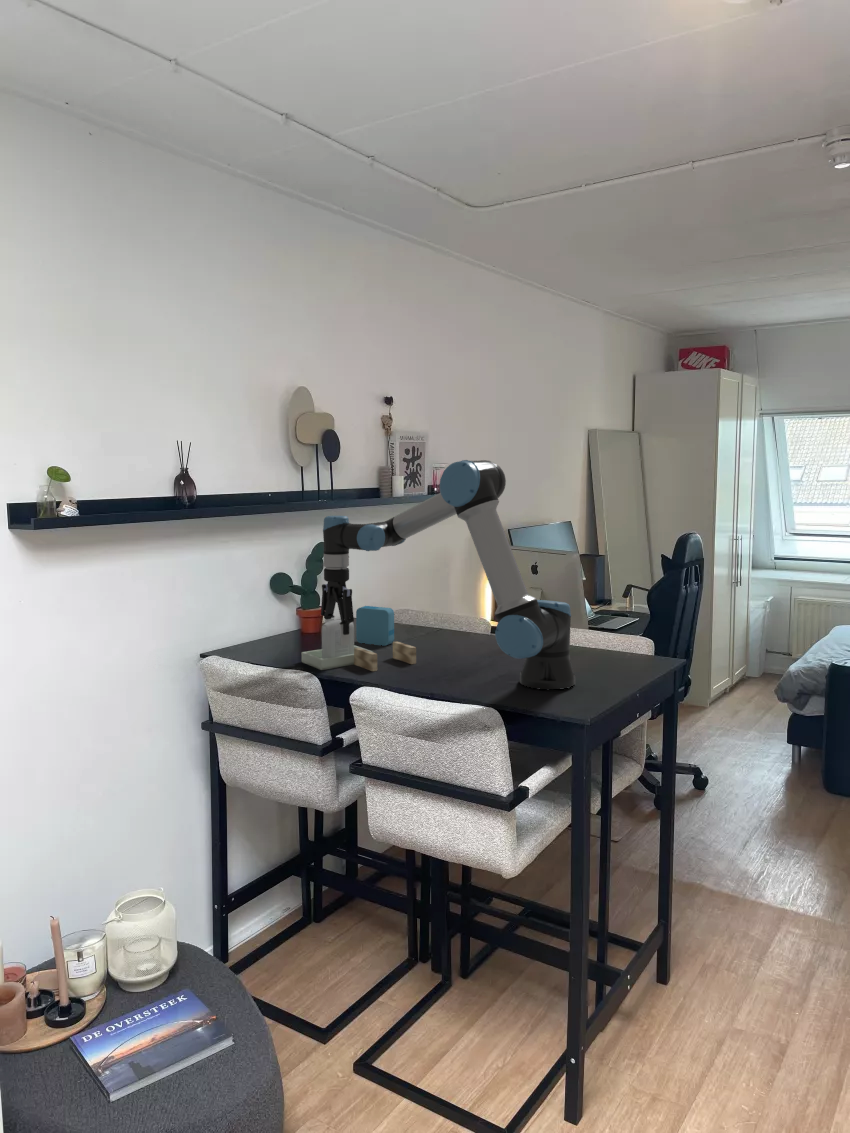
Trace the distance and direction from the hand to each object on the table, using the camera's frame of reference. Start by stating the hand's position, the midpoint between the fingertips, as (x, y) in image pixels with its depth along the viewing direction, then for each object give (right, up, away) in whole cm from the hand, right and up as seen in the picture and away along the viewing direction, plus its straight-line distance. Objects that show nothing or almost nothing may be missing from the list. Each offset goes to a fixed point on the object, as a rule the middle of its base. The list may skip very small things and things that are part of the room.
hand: (337, 642), depth 257 cm
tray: (0, -6, +1) cm, 6 cm away
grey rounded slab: (0, -6, 0) cm, 6 cm away
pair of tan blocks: (+15, -6, -2) cm, 16 cm away
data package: (+10, -3, +26) cm, 28 cm away
